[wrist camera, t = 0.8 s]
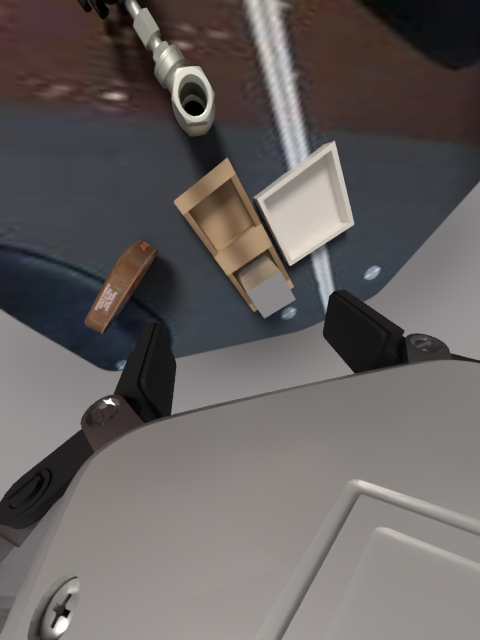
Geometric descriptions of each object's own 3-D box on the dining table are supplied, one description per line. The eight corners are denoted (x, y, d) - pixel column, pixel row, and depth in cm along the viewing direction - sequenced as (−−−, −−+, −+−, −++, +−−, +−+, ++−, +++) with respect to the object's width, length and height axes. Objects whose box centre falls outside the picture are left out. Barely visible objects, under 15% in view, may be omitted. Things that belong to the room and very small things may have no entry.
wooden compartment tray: (224, 160, 25) (227, 157, 23) (287, 280, 36) (293, 286, 34) (175, 200, 27) (173, 201, 24) (250, 303, 38) (253, 312, 35)
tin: (119, 315, 35) (99, 347, 28) (99, 306, 33) (73, 337, 26) (163, 244, 30) (152, 262, 23) (142, 230, 28) (124, 244, 21)
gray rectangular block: (261, 250, 32) (280, 270, 25) (275, 275, 35) (295, 299, 27) (235, 268, 33) (246, 293, 26) (251, 290, 36) (264, 318, 28)
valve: (228, 114, 23) (139, -51, 17) (237, 93, 18) (111, -161, 11) (187, 157, 25) (90, 21, 18) (183, 150, 19) (45, -47, 13)
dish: (324, 144, 26) (334, 141, 24) (344, 221, 32) (354, 224, 30) (252, 197, 28) (257, 198, 26) (284, 261, 34) (289, 266, 32)
